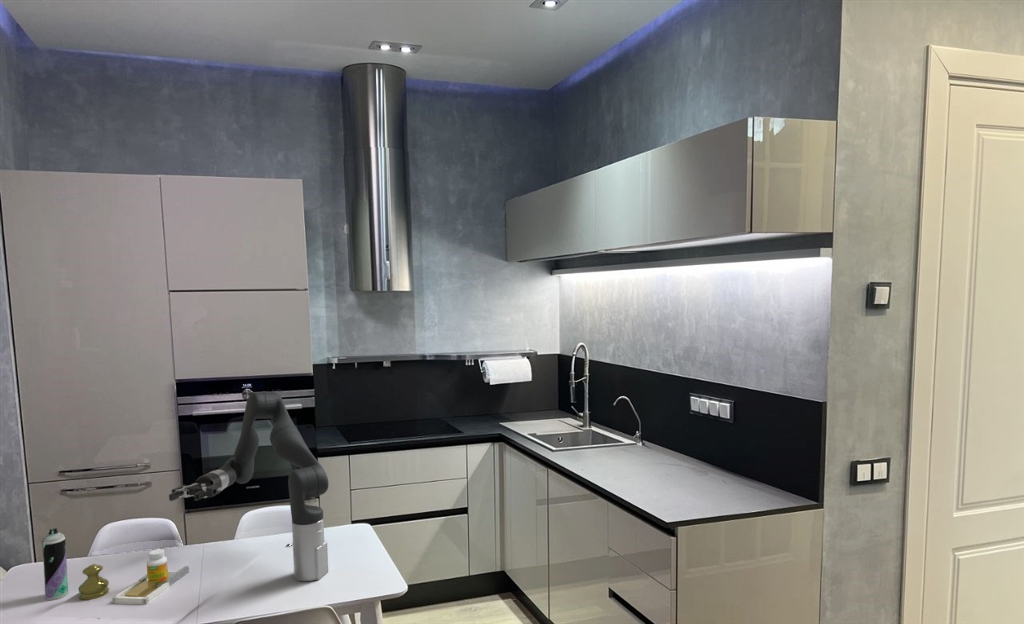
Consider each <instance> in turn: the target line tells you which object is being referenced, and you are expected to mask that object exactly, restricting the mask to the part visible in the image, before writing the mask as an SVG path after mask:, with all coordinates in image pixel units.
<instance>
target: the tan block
mask: <svg viewBox="0 0 1024 624" xmlns="http://www.w3.org/2000/svg"><path fill="white" fill-rule="evenodd" d="M147 595H148V588H146V587H135V588H133V589H132V590H130V591H129V592H127V593H125V596H126V597H146V596H147Z"/></svg>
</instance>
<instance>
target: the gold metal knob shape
mask: <svg viewBox="0 0 1024 624" xmlns="http://www.w3.org/2000/svg"><path fill="white" fill-rule="evenodd" d="M103 569H104V566H103V565H101V564H95V563H93V564H89V565H88V566H86V567H85V568H84V569H83V570H82V574H83V575H86V576H87V577H86V579H85V580H84V581H83V582H82V583H81V584H80V585H79V586H78V593H79V594H78V598H79V600H80V601H92V600H95V599H99V598H101V597H104V596H105V595H107V594H108V593H109V590H110V588H109V582H110V581H109V580H108V579H107V578H103V576H100V572H101V571H103Z"/></svg>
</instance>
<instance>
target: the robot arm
mask: <svg viewBox="0 0 1024 624" xmlns="http://www.w3.org/2000/svg"><path fill="white" fill-rule="evenodd" d="M286 407H287V406H286V405H285V403H284V400H283V398H282V396H281V395H280V394H279V393H278V392H277V391H253V392H251V393H250V394H249V396H248V398H247V401H246V404H245V409H244V413H243V419H242V425H241V430H240V434H239V435H240V436H239V439H238V442H237V444H236V448H235V449H234V453H233V457H230V458H229V459H227V461H226V462H225V463H224V464H223V466H221V467H220V468H218V469H215V470H212V471H210V472H208V473H205V474H204V475H200V476H199V477H198V478H197V479H196V480H195V481H194V483H191V484H190V485H186V484H182V485H179V486H177V487H175V488H172V489H171V493H170V494H169V495H168V500H169V502H173V501H175V500H178V499H181V498H190V497H194V502H196V501H197V502H198V501H200V500H201V499H207V498H213V497H215V496H216V495H219V494H221V492H222V491H223V490H224V489H226V488H228V487H230V486H232V485H234V483H235V482H236V483H238V484H240V485H242V484H243V485H244V484H247V483H248V482H249V481H250V480H251V479H252V478H253V475H254V472H255V456H256V454H257V451H258V449H259V445H260V438H259V434H258V433H257V430H256V427H255V421H256V419H258V420H259V419H272V420H273V421H274V425H273V427H272V428H271V431H270V434H269V441H270V444H271V446H272V449H274V452H275V453H276V456H278V457H279V458H280V459H282V460H283V461H285V462H287V463H289V464H291V465H293V466H296V467H298V469H297V468H296V469H292V470H291V471H290V472H289V475H288V482H287V483H288V484H287V486H288V495H289V503H290V504H289V505H290V506H289V507H290V515H291V526H292V527H291V531H292V533H291V535H292V544H293V545H292V546H293V547H292V553H293V554H292V557H293V558H292V559H293V576H294V579H295V580H296V581H300V582H310V581H319V580H321V579H323V577H324V576H325V575H326V574H327V573H328V572H329V554H328V541H325V525H324V521H325V520H324V510H323V508H322V507H320V506H317V505H309V504H306V502H305V500H306V499H307V500H308V499H310V498H316V497H319V496H322V495H324V494H325V493H327V491H328V490H329V478H328V475H327V473H326V471H325V469H324V467H323V466H322V465H321V463H320V462H319V461H318V460H317V458H316V457H315V456H314V455H313V453H312V452H311V450H310V449H309V447H308V445H307V444H306V442H305V440H304V438H303V437H302V435H301V433H300V431H299V429H298V428H297V427H296V425H295V424H294V421H293V420H292V418H291V416H290V414H289V412H288V410H287V408H286ZM187 492H188V493H187Z"/></svg>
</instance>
